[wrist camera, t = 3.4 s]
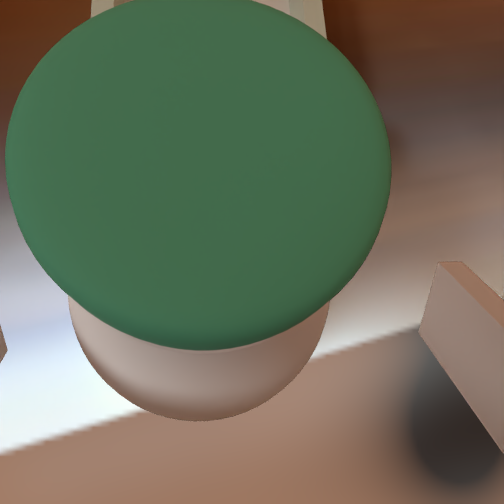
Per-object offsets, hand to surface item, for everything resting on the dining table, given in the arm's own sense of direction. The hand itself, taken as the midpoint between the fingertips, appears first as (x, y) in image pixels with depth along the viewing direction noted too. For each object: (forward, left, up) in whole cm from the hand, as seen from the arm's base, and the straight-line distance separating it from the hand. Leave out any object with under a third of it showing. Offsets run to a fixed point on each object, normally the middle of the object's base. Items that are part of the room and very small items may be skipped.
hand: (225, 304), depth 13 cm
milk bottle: (-1, 0, -12) cm, 12 cm away
